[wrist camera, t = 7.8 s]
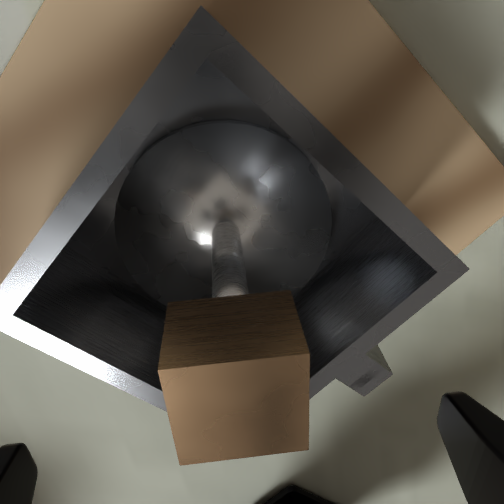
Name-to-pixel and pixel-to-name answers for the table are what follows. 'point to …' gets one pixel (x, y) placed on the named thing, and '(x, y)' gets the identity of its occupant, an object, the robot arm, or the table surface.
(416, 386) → the table surface
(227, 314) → the plunger
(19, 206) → the tan square board
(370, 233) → the shallow square tray
